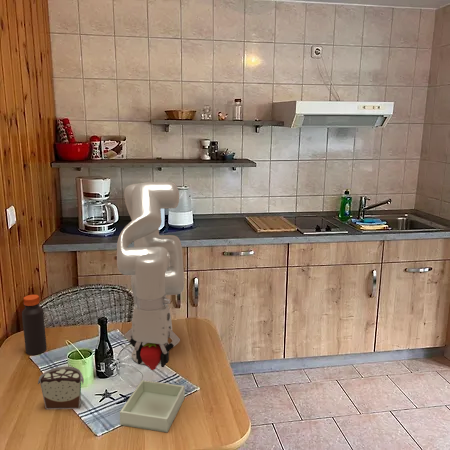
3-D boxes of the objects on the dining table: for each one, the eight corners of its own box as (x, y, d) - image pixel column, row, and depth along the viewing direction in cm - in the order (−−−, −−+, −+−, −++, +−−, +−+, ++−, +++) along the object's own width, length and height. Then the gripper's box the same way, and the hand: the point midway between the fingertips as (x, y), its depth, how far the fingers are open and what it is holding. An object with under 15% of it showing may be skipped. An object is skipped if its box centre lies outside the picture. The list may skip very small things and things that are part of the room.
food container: (90, 395, 132) (88, 365, 130) (84, 408, 126) (82, 377, 124) (48, 396, 131) (45, 365, 129) (40, 409, 125) (37, 377, 123)
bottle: (27, 357, 152) (21, 302, 148) (24, 348, 158) (19, 295, 153) (48, 352, 156) (43, 298, 151) (45, 344, 161) (40, 292, 157)
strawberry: (135, 374, 120) (134, 340, 117) (150, 360, 126) (149, 328, 124) (155, 379, 118) (154, 344, 115) (168, 364, 125) (168, 331, 122)
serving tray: (142, 391, 134) (141, 380, 133) (184, 398, 131) (184, 385, 130) (120, 425, 119) (119, 411, 118) (167, 432, 117) (167, 419, 116)
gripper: (186, 298, 119) (187, 360, 124) (126, 293, 123) (128, 352, 127) (177, 310, 112) (178, 374, 116) (114, 303, 116) (117, 366, 120)
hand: (152, 362), depth 122 cm, fingers closed on strawberry, 6 cm apart
